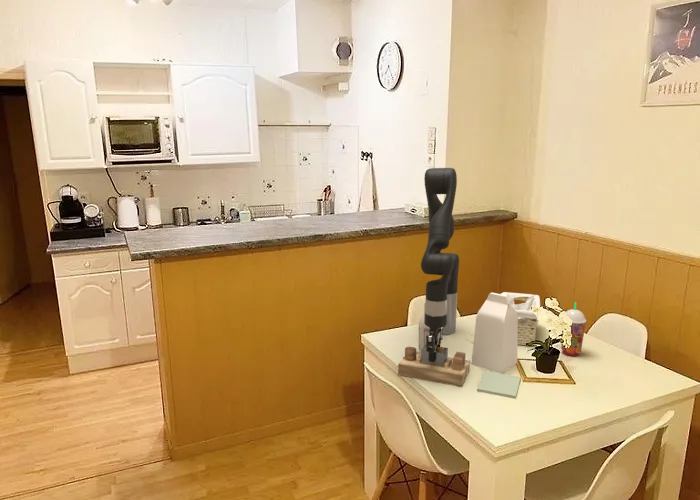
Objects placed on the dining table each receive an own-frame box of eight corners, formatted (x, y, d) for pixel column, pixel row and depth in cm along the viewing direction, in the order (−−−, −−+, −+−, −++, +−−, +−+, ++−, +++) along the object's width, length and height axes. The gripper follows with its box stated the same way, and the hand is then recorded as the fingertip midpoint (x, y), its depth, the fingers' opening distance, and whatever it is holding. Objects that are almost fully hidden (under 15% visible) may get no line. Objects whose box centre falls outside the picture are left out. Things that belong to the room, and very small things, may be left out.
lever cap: (424, 357, 182) (425, 342, 181) (447, 361, 179) (447, 346, 178) (420, 363, 178) (421, 348, 177) (443, 367, 175) (444, 351, 173)
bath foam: (441, 354, 193) (441, 303, 189) (428, 359, 189) (428, 307, 185) (427, 349, 199) (428, 299, 195) (414, 353, 195) (414, 303, 191)
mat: (484, 372, 179) (484, 370, 179) (520, 379, 175) (520, 376, 174) (476, 391, 167) (477, 388, 167) (515, 398, 162) (515, 396, 162)
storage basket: (498, 322, 226) (500, 290, 223) (538, 327, 221) (540, 294, 217) (493, 343, 204) (495, 308, 201) (537, 349, 199) (540, 312, 195)
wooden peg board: (408, 360, 189) (409, 340, 187) (469, 371, 180) (470, 350, 179) (398, 374, 178) (398, 353, 177) (462, 386, 170) (463, 364, 168)
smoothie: (558, 355, 192) (563, 304, 188) (558, 347, 200) (563, 297, 195) (583, 359, 189) (588, 307, 185) (582, 350, 197) (587, 300, 192)
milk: (471, 363, 186) (474, 294, 181) (486, 353, 195) (490, 287, 189) (502, 373, 178) (506, 302, 173) (517, 363, 187) (522, 294, 181)
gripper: (430, 303, 182) (429, 348, 186) (418, 316, 169) (417, 364, 173) (451, 306, 179) (449, 351, 183) (441, 319, 166) (439, 368, 170)
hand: (434, 357), depth 178 cm, fingers open, 6 cm apart
